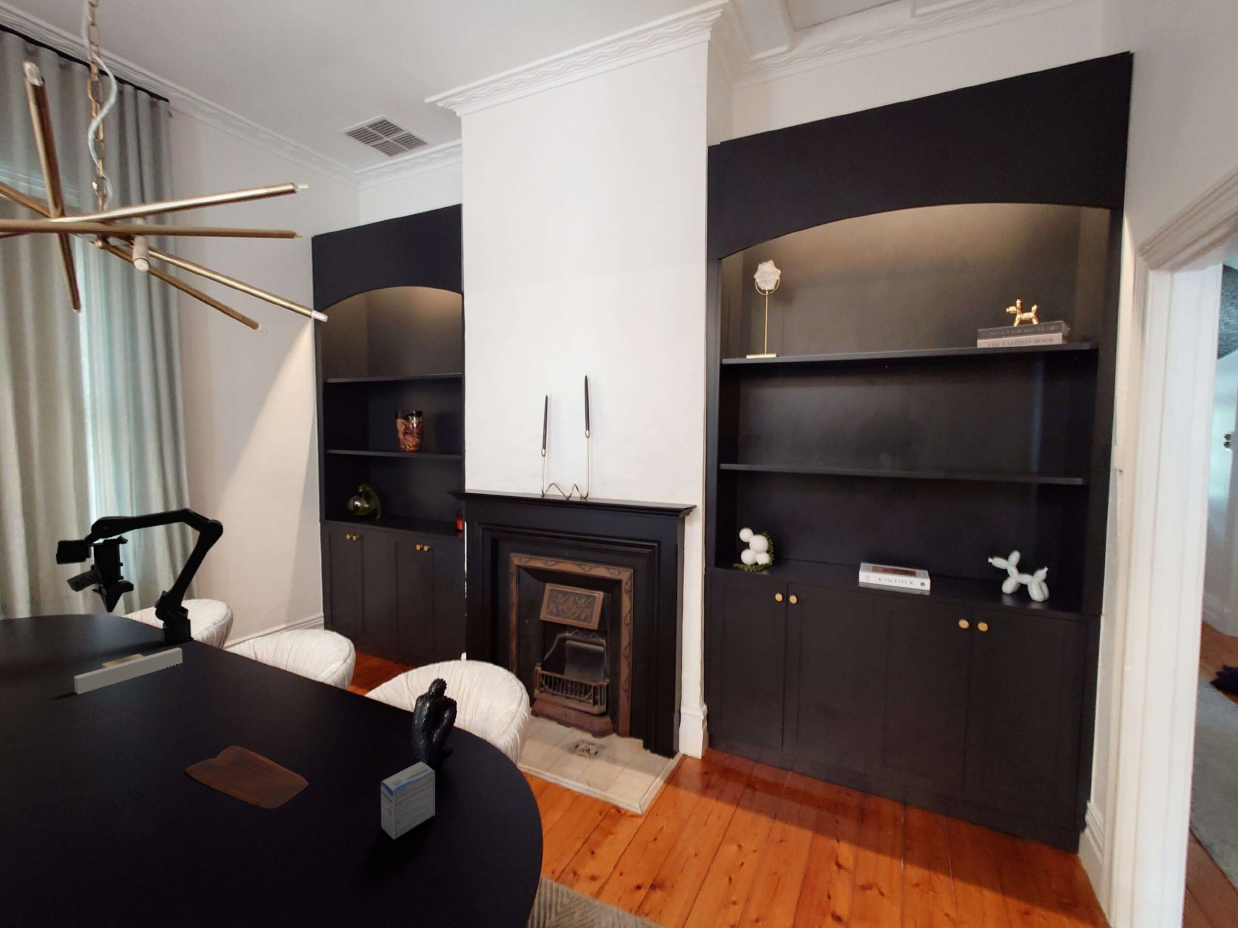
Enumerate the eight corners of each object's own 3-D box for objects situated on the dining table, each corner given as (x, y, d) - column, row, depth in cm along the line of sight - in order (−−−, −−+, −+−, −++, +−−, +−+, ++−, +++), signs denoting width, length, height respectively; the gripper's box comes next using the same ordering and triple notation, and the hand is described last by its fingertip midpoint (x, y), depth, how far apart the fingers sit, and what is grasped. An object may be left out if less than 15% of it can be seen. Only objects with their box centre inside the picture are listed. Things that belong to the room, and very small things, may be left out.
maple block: (139, 665, 158) (139, 653, 157) (148, 670, 154) (147, 658, 154) (102, 676, 151) (101, 663, 150) (111, 682, 148) (110, 669, 147)
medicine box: (422, 804, 103) (421, 759, 102) (435, 815, 100) (435, 769, 99) (380, 828, 97) (379, 780, 96) (394, 841, 94) (393, 791, 93)
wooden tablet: (180, 775, 111) (180, 767, 110) (233, 749, 120) (233, 741, 120) (266, 818, 99) (266, 809, 99) (317, 785, 108) (317, 777, 108)
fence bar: (178, 660, 160) (178, 647, 160) (182, 662, 159) (181, 649, 159) (75, 691, 142) (74, 676, 141) (78, 694, 140) (77, 678, 140)
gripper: (58, 561, 161) (61, 613, 163) (81, 571, 152) (84, 627, 153) (108, 553, 171) (111, 603, 172) (133, 562, 161) (135, 615, 162)
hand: (109, 612), depth 165 cm, fingers closed
